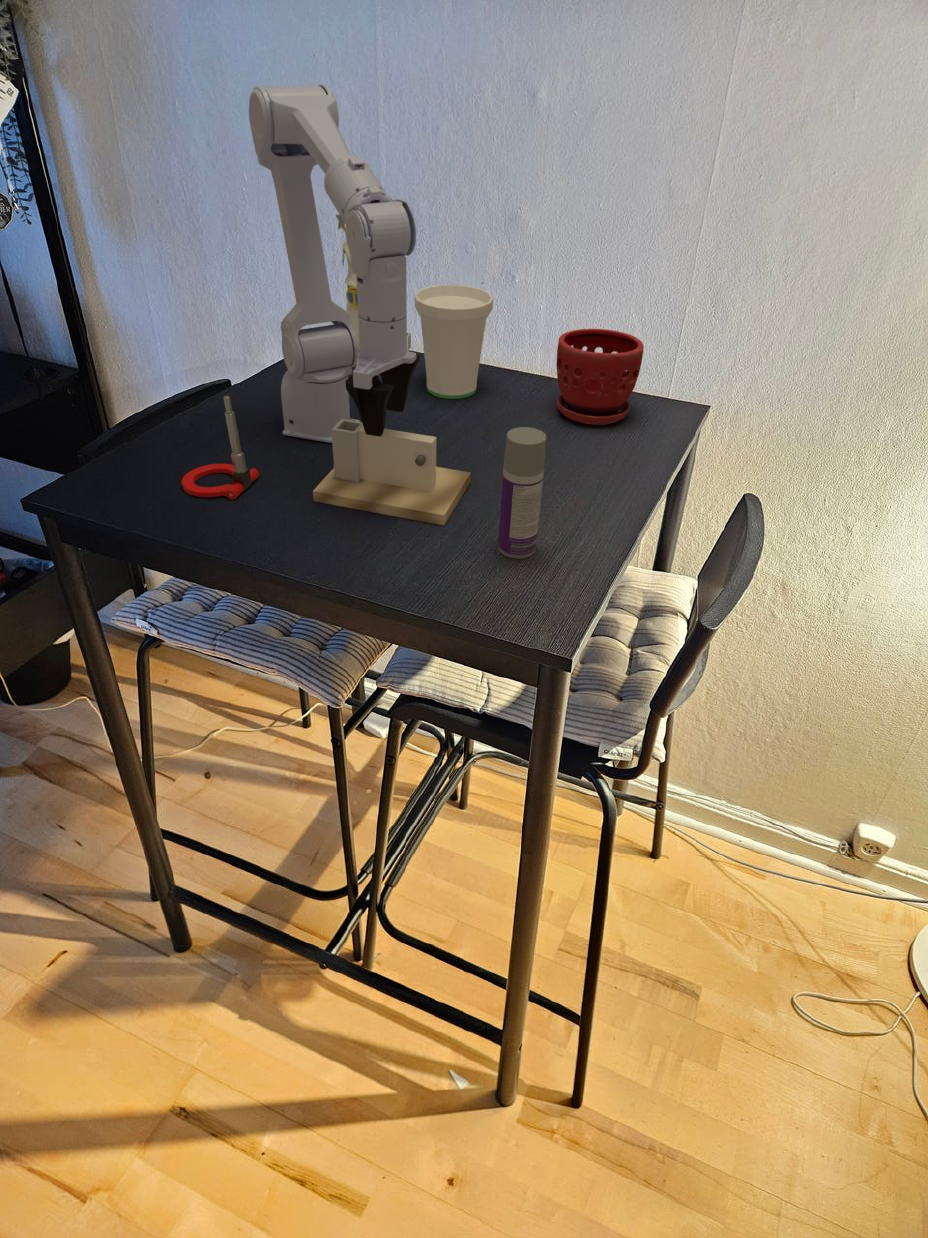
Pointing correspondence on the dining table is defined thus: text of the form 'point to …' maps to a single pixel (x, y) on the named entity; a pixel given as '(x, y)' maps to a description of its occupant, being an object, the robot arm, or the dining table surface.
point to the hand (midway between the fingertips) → (385, 421)
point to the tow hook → (224, 467)
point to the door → (384, 456)
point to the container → (521, 492)
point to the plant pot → (597, 374)
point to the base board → (397, 496)
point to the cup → (452, 336)
